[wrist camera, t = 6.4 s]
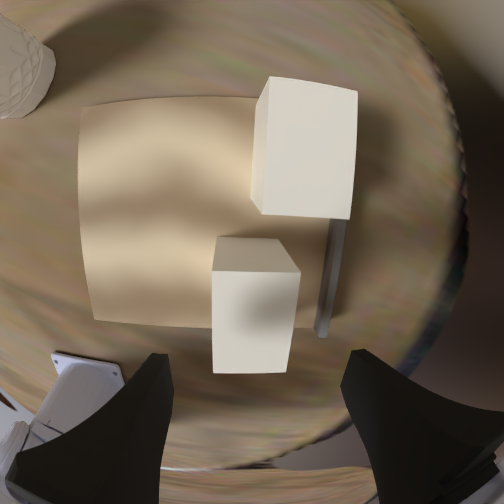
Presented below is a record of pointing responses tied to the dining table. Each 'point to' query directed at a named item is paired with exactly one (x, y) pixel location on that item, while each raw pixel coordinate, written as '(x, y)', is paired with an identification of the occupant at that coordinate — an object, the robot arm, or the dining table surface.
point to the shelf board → (183, 211)
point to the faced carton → (304, 149)
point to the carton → (252, 305)
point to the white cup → (22, 70)
